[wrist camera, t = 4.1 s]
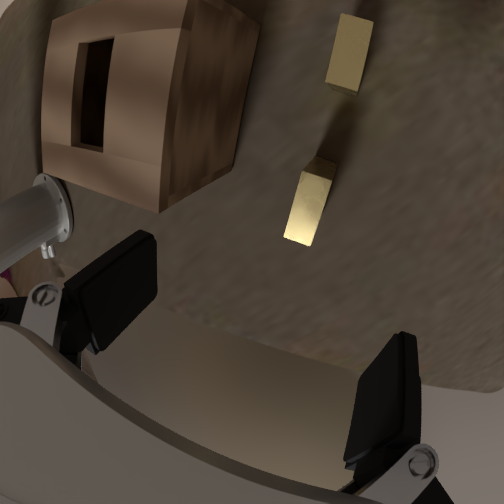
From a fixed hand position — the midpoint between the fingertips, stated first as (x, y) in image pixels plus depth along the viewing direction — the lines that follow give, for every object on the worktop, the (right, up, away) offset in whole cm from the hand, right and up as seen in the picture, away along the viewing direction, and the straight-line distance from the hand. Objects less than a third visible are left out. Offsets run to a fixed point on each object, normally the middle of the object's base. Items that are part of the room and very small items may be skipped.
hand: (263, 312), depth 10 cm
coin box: (-7, +18, +13) cm, 23 cm away
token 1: (+5, +8, +14) cm, 16 cm away
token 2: (+7, +17, +8) cm, 20 cm away
